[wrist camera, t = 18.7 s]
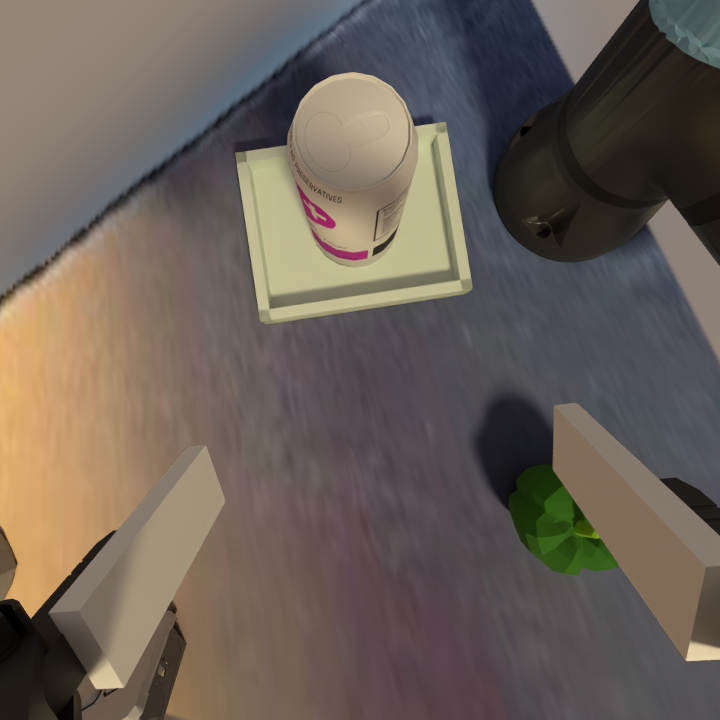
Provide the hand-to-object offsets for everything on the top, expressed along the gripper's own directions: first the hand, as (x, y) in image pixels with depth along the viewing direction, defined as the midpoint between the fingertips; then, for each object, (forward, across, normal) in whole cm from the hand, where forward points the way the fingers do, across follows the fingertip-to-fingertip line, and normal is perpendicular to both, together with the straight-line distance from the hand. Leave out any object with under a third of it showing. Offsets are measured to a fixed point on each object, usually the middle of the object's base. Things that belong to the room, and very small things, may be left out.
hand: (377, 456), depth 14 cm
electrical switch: (+11, -26, -28) cm, 40 cm away
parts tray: (+28, -1, +8) cm, 29 cm away
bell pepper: (+19, +13, -20) cm, 30 cm away
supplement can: (+27, -1, +8) cm, 28 cm away
